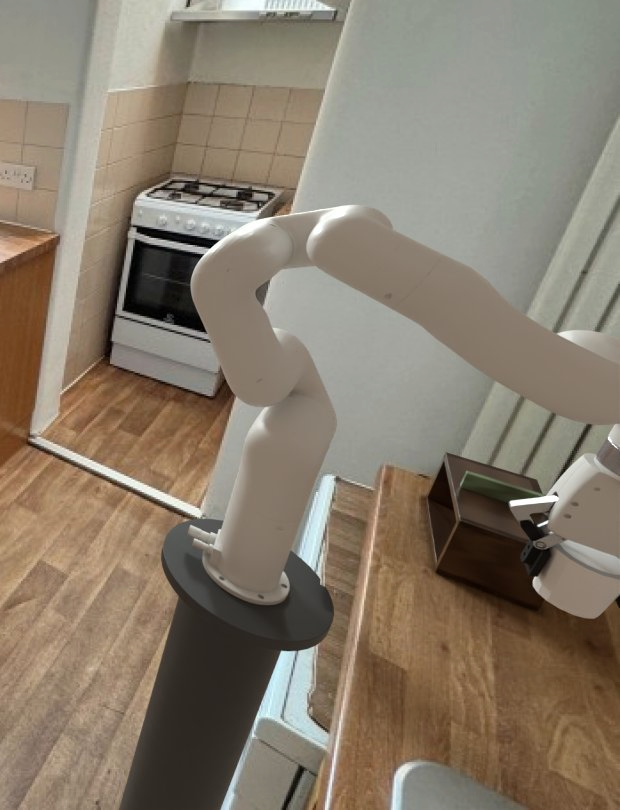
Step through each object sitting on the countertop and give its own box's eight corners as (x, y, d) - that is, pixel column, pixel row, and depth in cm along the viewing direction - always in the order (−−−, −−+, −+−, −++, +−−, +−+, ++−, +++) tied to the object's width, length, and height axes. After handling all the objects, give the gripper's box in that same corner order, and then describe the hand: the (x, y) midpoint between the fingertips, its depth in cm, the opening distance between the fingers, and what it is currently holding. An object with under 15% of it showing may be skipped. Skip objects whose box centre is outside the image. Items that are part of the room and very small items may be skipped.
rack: (435, 572, 99) (467, 505, 94) (424, 498, 115) (451, 438, 110) (538, 612, 92) (578, 542, 87) (511, 528, 108) (544, 465, 103)
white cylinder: (533, 603, 72) (561, 560, 69) (518, 565, 77) (543, 523, 75) (617, 634, 68) (649, 590, 66) (595, 592, 74) (624, 550, 71)
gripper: (762, 484, 63) (671, 604, 70) (532, 420, 73) (471, 531, 80) (801, 526, 58) (698, 652, 64) (546, 451, 67) (480, 567, 74)
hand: (573, 584), depth 72 cm, fingers closed on white cylinder, 6 cm apart
